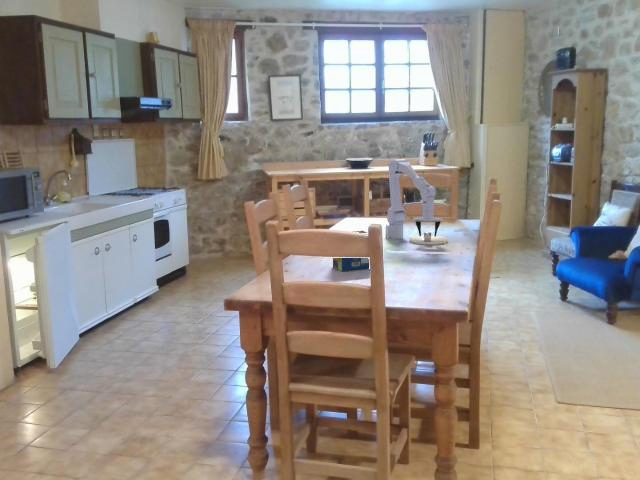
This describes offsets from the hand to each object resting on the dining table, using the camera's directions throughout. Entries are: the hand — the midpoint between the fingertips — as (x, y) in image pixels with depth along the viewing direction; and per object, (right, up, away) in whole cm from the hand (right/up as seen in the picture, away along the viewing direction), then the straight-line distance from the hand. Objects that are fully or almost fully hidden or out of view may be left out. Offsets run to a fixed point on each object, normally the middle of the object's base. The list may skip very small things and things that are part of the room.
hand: (427, 236), depth 313 cm
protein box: (-41, -15, -43) cm, 61 cm away
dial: (+2, -3, +9) cm, 9 cm away
